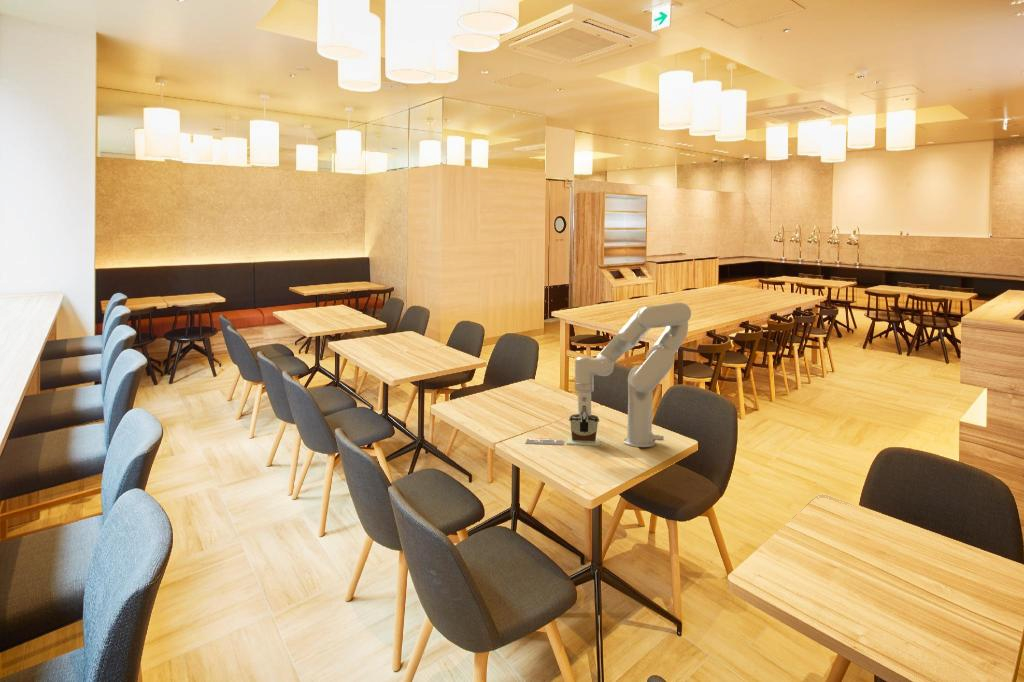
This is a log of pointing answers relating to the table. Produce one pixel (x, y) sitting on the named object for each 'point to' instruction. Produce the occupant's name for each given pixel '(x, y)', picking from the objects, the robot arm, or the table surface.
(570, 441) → the pad
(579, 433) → the food container
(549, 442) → the tile
